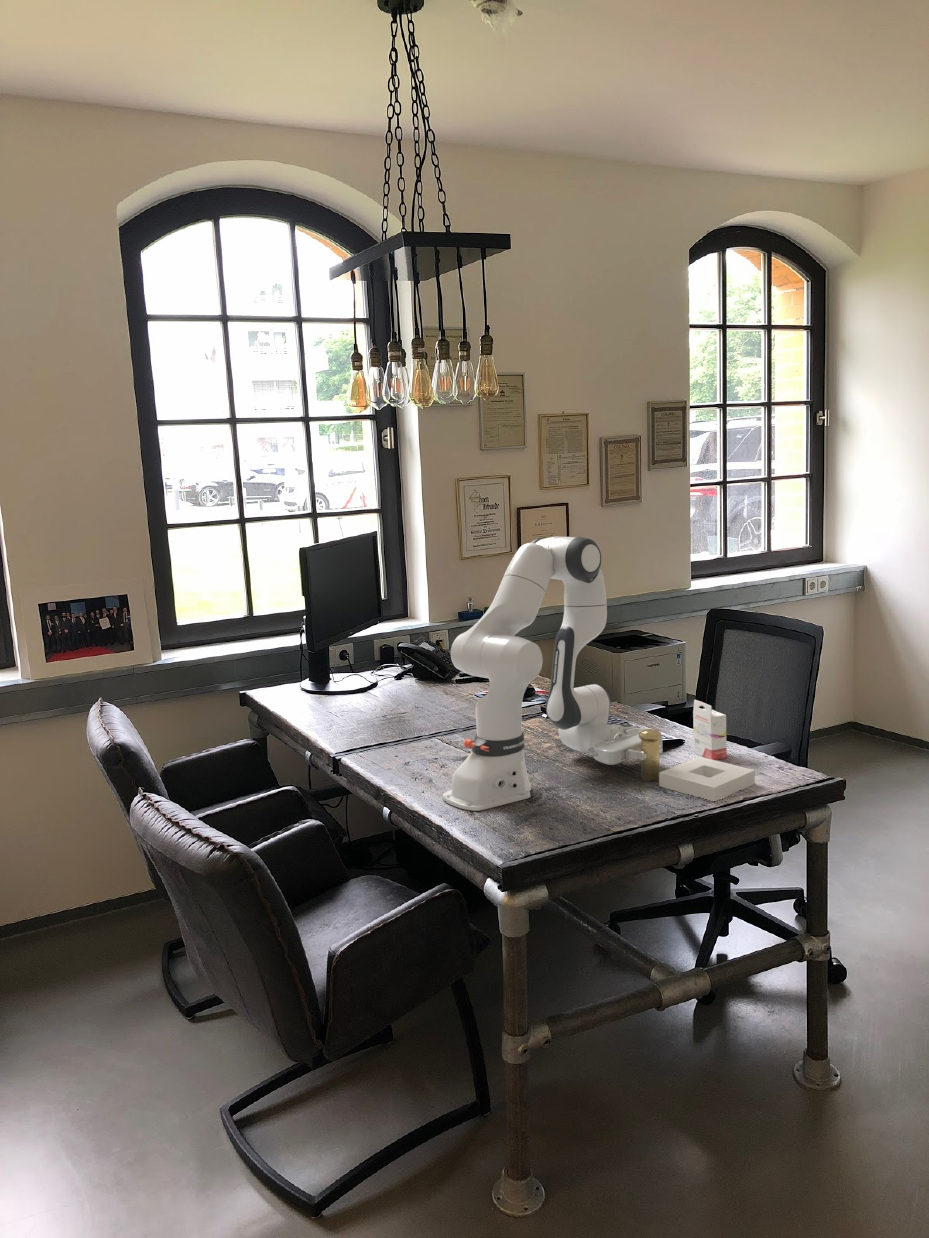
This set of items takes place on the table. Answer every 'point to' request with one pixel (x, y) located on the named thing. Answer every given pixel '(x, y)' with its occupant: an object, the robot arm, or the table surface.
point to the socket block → (707, 778)
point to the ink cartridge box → (709, 732)
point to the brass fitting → (650, 754)
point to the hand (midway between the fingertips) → (653, 753)
